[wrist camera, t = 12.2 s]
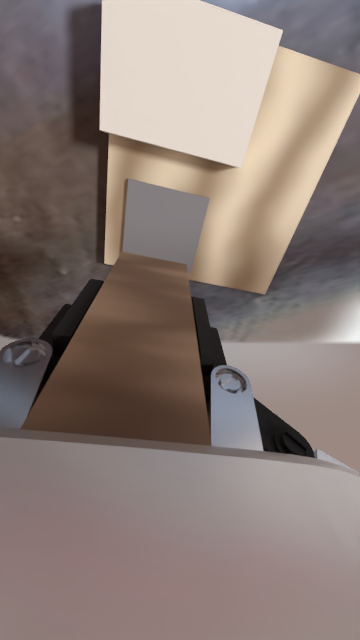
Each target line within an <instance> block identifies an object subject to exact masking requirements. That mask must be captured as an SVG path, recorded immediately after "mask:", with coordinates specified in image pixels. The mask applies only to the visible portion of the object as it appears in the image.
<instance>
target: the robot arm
mask: <svg viewBox="0 0 360 640" xmlns="http://www.w3.org/2000/svg"><path fill="white" fill-rule="evenodd" d="M103 283H104V281H101V280H95V279H90V280H89V282H88V283H87V285H86V286H85V287H84V289H83V290H82V292H81V293H80V294H79V296H78V297H77V299H76V300H75V302H74V303H73V304H72V305H70V304H65V305H64V306H63V307H62V309H61V310H60V311H59V313H58V314H57V315H56V316H55V318H54V319H53V320H52V322H51V323H50V324H49V326H48V327H47V328H46V330H45V331H44V332H43V333H42V335H41V336H40V337H39V339H34V338H33V339H22V340H17V341H15V342H12V343H10V344H8V345H6V346H5V347H3V348H2V350H1V351H0V640H360V473H359V472H357V471H355V470H353V469H352V468H350V467H348V466H346V465H345V464H343V463H341V462H339V461H338V460H336V459H334V458H332V457H331V456H329V455H327V454H325V453H324V452H322V451H320V450H318V449H317V450H316V451H313V450H312V448H311V446H310V444H309V443H308V442H307V440H306V439H305V438H304V437H303V436H302V435H301V434H300V433H299V432H297V431H296V430H295V429H293V428H292V427H291V426H290V425H288V424H287V423H286V422H284V421H283V420H281V418H279V417H278V416H277V415H275V414H274V413H272V411H270V410H269V409H268V408H266V407H265V406H264V405H262V404H261V403H260V402H259V401H257V400H256V399H255V398H254V397H253V393H252V388H251V384H250V381H249V379H248V378H247V376H246V375H245V374H244V373H242V372H241V371H240V370H238V369H236V368H234V367H231V366H227V364H226V360H225V357H224V353H223V349H222V345H221V342H220V338H219V334H218V331H217V329H216V328H212V327H210V324H209V320H208V316H207V311H206V307H205V302H204V299H201V298H195V297H191V300H192V307H193V315H194V322H195V329H196V336H197V343H198V351H199V358H200V365H201V372H202V379H203V386H204V394H205V401H206V408H207V415H208V422H209V430H210V437H211V444H212V446H207V445H196V444H185V443H175V442H164V441H152V440H141V439H130V438H119V437H107V436H96V435H84V434H73V433H61V432H49V431H37V430H25V429H20V428H21V426H22V425H23V423H24V421H25V420H26V418H27V416H28V414H29V413H30V411H31V409H32V407H33V406H34V404H35V402H36V400H37V399H38V397H39V395H40V393H41V392H42V390H43V388H44V386H45V385H46V383H47V381H48V379H49V378H50V376H51V374H52V372H53V371H54V369H55V367H56V365H57V364H58V362H59V360H60V358H61V357H62V355H63V353H64V351H65V350H66V348H67V346H68V344H69V343H70V341H71V339H72V337H73V336H74V334H75V332H76V330H77V329H78V327H79V325H80V323H81V322H82V320H83V318H84V316H85V315H86V313H87V311H88V309H89V308H90V306H91V304H92V302H93V301H94V299H95V297H96V295H97V294H98V292H99V290H100V288H101V287H102V285H103Z"/></svg>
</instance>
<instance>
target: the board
mask: <svg viewBox="0 0 360 640" xmlns="http://www.w3.org/2000/svg"><path fill="white" fill-rule="evenodd" d="M359 94H360V74H357V73H355V72H352V71H349V70H346V69H343V68H340V67H338V66H335V65H332V64H329V63H326V62H323V61H320V60H318V59H315V58H312V57H309V56H306V55H303V54H300V53H298V52H295V51H292V50H289V49H286V48H283V47H280V46H278V49H277V52H276V55H275V59H274V62H273V65H272V69H271V72H270V75H269V78H268V82H267V85H266V88H265V92H264V95H263V98H262V101H261V105H260V108H259V111H258V115H257V118H256V121H255V125H254V128H253V131H252V134H251V138H250V141H249V144H248V148H247V151H246V154H245V158H244V161H243V164H242V167H241V168H236V167H232V166H229V165H225V164H221V163H217V162H214V161H210V160H206V159H202V158H199V157H195V156H191V155H187V154H184V153H180V152H176V151H172V150H169V149H165V148H161V147H157V146H154V145H150V144H146V143H142V142H139V141H135V140H131V139H127V138H124V137H120V136H116V135H113V134H109V147H108V174H107V202H106V229H105V257H104V264H110V265H114V264H115V262H116V261H117V259H118V257H119V255H120V254H121V252H122V251H123V238H124V225H125V213H126V200H127V187H128V179H133V180H137V181H141V182H145V183H149V184H153V185H157V186H162V187H166V188H170V189H174V190H178V191H182V192H186V193H190V194H194V195H198V196H202V197H207V198H210V200H209V204H208V208H207V212H206V216H205V219H204V223H203V227H202V231H201V235H200V239H199V243H198V247H197V251H196V255H195V258H194V262H193V266H192V270H191V273H188V279H189V280H193V281H198V282H203V283H208V284H213V285H219V286H224V287H229V288H234V289H239V290H245V291H250V292H255V293H260V294H266V292H267V289H268V287H269V285H270V283H271V281H272V279H273V277H274V275H275V272H276V270H277V268H278V266H279V264H280V262H281V260H282V258H283V255H284V253H285V251H286V249H287V247H288V245H289V243H290V240H291V238H292V236H293V234H294V232H295V230H296V228H297V226H298V223H299V221H300V219H301V217H302V215H303V213H304V211H305V209H306V206H307V204H308V202H309V200H310V198H311V196H312V194H313V192H314V189H315V187H316V185H317V183H318V181H319V179H320V177H321V174H322V172H323V170H324V168H325V166H326V164H327V162H328V160H329V157H330V155H331V153H332V151H333V149H334V147H335V145H336V143H337V140H338V138H339V136H340V134H341V132H342V130H343V128H344V126H345V123H346V121H347V119H348V117H349V115H350V113H351V111H352V108H353V106H354V104H355V102H356V100H357V98H358V96H359Z"/></svg>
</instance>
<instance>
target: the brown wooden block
mask: <svg viewBox="0 0 360 640" xmlns="http://www.w3.org/2000/svg"><path fill="white" fill-rule="evenodd" d="M20 429H25V430H37V431H49V432H61V433H73V434H84V435H96V436H107V437H119V438H130V439H141V440H152V441H164V442H175V443H185V444H196V445H207V446H212V444H211V437H210V430H209V422H208V415H207V408H206V401H205V394H204V386H203V379H202V372H201V365H200V358H199V351H198V343H197V336H196V329H195V322H194V315H193V307H192V300H191V293H190V286H189V279H188V271H187V264H182V263H177V262H172V261H167V260H162V259H157V258H152V257H147V256H142V255H137V254H132V253H127V252H121V254H120V255H119V257H118V259H117V261H116V262H115V264H114V266H113V268H112V269H111V271H110V273H109V275H108V276H107V278H106V280H105V281H104V283H103V285H102V287H101V288H100V290H99V292H98V294H97V295H96V297H95V299H94V301H93V302H92V304H91V306H90V308H89V309H88V311H87V313H86V315H85V316H84V318H83V320H82V322H81V323H80V325H79V327H78V329H77V330H76V332H75V334H74V336H73V337H72V339H71V341H70V343H69V344H68V346H67V348H66V350H65V351H64V353H63V355H62V357H61V358H60V360H59V362H58V364H57V365H56V367H55V369H54V371H53V372H52V374H51V376H50V378H49V379H48V381H47V383H46V385H45V386H44V388H43V390H42V392H41V393H40V395H39V397H38V399H37V400H36V402H35V404H34V406H33V407H32V409H31V411H30V413H29V414H28V416H27V418H26V420H25V421H24V423H23V425H22V426H21V428H20Z"/></svg>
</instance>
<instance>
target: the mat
mask: <svg viewBox="0 0 360 640" xmlns="http://www.w3.org/2000/svg"><path fill="white" fill-rule="evenodd" d="M209 200H210V198H207V197H202V196H198V195H194V194H190V193H186V192H182V191H178V190H174V189H170V188H166V187H162V186H157V185H153V184H149V183H145V182H141V181H137V180H133V179H128V187H127V200H126V213H125V225H124V238H123V251H122V252H127V253H132V254H137V255H142V256H147V257H152V258H157V259H162V260H167V261H172V262H177V263H182V264H187V271H188V273H191V270H192V266H193V262H194V258H195V255H196V251H197V247H198V243H199V239H200V235H201V231H202V227H203V223H204V219H205V216H206V212H207V208H208V204H209Z"/></svg>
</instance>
